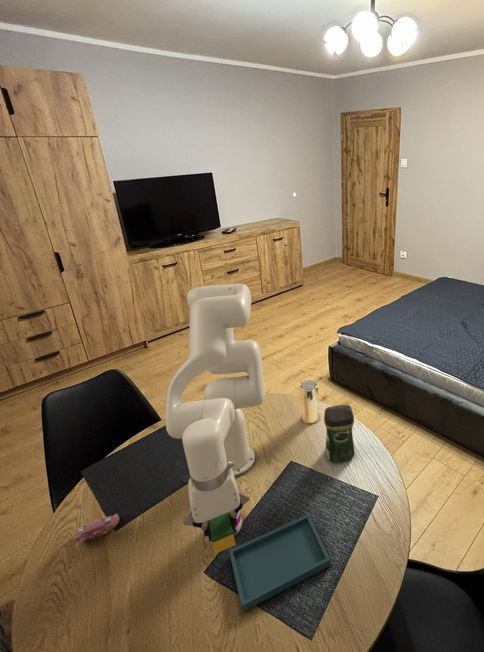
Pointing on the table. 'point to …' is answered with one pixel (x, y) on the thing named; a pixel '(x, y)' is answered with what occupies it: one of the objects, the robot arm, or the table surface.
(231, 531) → the sponge
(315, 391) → the silver metal cylinder
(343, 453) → the coffee jar
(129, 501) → the table surface
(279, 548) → the tray
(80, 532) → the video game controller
